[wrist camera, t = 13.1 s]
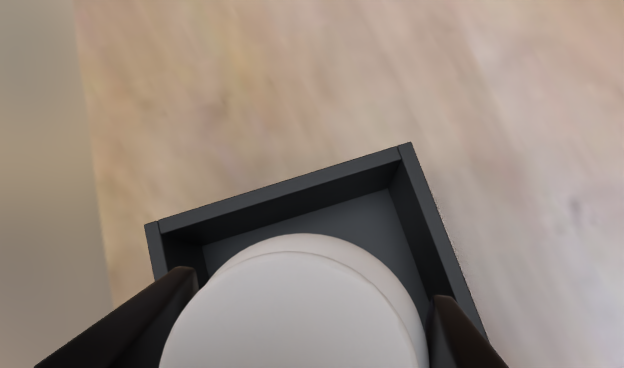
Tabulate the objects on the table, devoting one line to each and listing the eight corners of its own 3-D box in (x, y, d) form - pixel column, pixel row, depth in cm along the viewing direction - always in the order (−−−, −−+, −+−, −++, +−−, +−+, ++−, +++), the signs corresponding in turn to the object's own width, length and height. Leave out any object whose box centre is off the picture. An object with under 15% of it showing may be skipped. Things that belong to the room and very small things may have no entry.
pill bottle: (397, 407, 14) (504, 624, 5) (247, 411, 15) (84, 621, 5) (385, 253, 16) (451, 199, 6) (248, 259, 16) (120, 215, 7)
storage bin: (244, 472, 19) (206, 547, 13) (192, 239, 22) (143, 224, 16) (475, 399, 19) (529, 444, 14) (393, 177, 22) (411, 141, 16)
